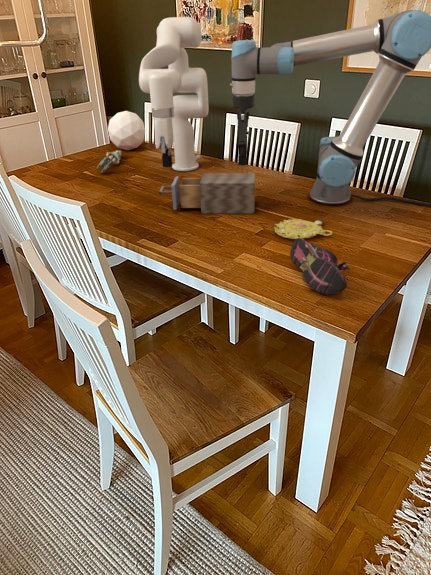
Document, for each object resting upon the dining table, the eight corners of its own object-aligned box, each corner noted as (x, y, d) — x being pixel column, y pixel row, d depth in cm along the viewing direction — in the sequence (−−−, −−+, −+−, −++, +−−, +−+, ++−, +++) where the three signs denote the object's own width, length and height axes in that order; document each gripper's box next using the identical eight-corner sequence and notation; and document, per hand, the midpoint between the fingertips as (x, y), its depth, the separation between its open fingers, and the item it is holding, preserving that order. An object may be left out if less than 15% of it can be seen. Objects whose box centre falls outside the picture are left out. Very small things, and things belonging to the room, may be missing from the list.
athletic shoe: (333, 284, 107) (372, 276, 111) (293, 223, 119) (330, 218, 123) (316, 311, 116) (353, 303, 120) (281, 252, 127) (315, 246, 132)
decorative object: (286, 211, 157) (342, 219, 147) (286, 217, 158) (341, 226, 148) (260, 233, 142) (319, 243, 133) (260, 240, 144) (319, 251, 134)
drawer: (159, 209, 164) (156, 185, 158) (163, 199, 172) (161, 176, 167) (222, 210, 162) (221, 185, 157) (224, 200, 170) (223, 176, 165)
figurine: (101, 154, 197) (119, 141, 223) (91, 167, 200) (110, 152, 227) (114, 165, 199) (130, 151, 225) (103, 178, 203) (121, 162, 229)
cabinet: (201, 213, 162) (199, 183, 156) (204, 201, 172) (203, 173, 166) (254, 213, 161) (255, 183, 155) (254, 202, 170) (255, 172, 164)
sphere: (121, 160, 244) (102, 128, 241) (152, 143, 246) (133, 111, 243) (119, 152, 225) (98, 116, 222) (153, 133, 227) (132, 97, 225)
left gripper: (156, 108, 156) (161, 160, 166) (147, 117, 144) (153, 173, 153) (177, 108, 156) (180, 160, 165) (170, 117, 143) (174, 173, 153)
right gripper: (233, 88, 155) (233, 149, 167) (229, 101, 134) (230, 170, 146) (254, 88, 155) (253, 149, 166) (254, 101, 134) (253, 170, 145)
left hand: (167, 166), depth 159 cm, fingers closed
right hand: (242, 159), depth 156 cm, fingers open, 13 cm apart
